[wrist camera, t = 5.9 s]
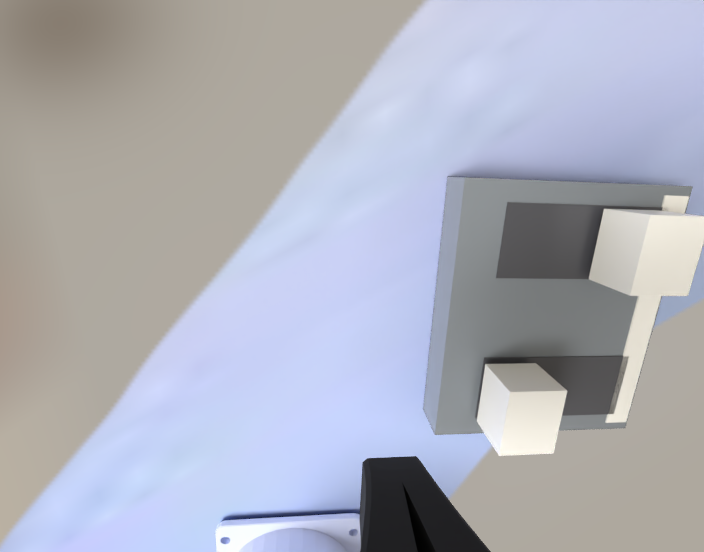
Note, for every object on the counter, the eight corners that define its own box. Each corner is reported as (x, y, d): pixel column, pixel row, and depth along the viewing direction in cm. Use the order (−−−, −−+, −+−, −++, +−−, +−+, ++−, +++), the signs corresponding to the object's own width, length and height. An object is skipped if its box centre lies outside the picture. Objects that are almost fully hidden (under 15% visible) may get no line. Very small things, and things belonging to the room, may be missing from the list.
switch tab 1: (525, 419, 18) (553, 453, 16) (476, 421, 18) (498, 455, 15) (536, 363, 17) (567, 390, 15) (485, 363, 17) (510, 391, 15)
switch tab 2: (639, 279, 16) (687, 296, 14) (588, 279, 16) (630, 295, 14) (657, 210, 15) (711, 216, 13) (603, 208, 15) (650, 214, 13)
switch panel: (596, 404, 21) (627, 430, 19) (423, 409, 20) (435, 437, 18) (651, 184, 18) (696, 186, 16) (447, 176, 17) (466, 177, 15)
